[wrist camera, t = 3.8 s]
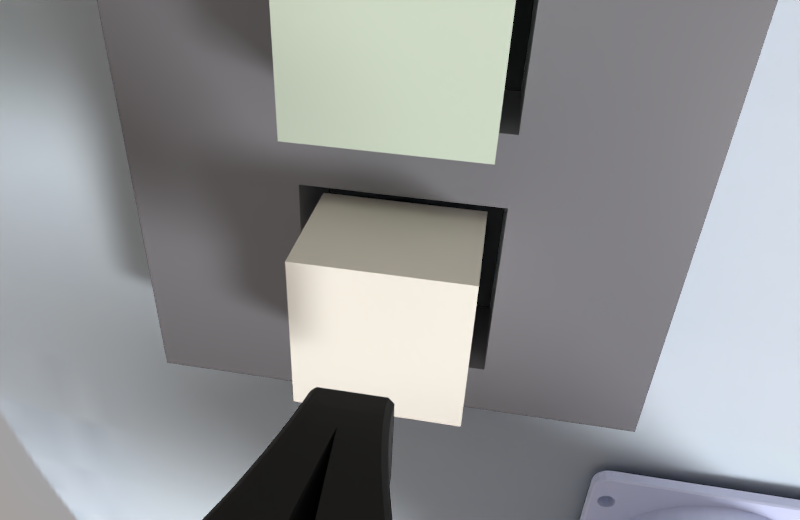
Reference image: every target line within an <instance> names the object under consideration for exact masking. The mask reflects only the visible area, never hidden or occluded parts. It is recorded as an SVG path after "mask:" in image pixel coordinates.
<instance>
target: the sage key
mask: <svg viewBox="0 0 800 520" xmlns="http://www.w3.org/2000/svg"><path fill="white" fill-rule="evenodd" d="M515 4H516V0H269V6H270V22H271V39H272V55H273V71H274V88H275V104H276V121H277V137H278V141H280V142H289V143H298V144H308V145H317V146H326V147H336V148H345V149H354V150H363V151H373V152H382V153H391V154H401V155H410V156H419V157H428V158H438V159H447V160H456V161H466V162H475V163H484V164H493V165H495V158H496V151H497V143H498V135H499V127H500V120H501V112H502V104H503V97H504V89H505V81H506V73H507V66H508V58H509V50H510V43H511V35H512V27H513V19H514V12H515Z"/></svg>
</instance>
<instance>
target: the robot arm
mask: <svg viewBox="0 0 800 520" xmlns="http://www.w3.org/2000/svg"><path fill="white" fill-rule="evenodd" d="M394 405H395V404H394V403H393V402H392V401H391V400H390V399H389V398H388V397H381V396H374V395H368V394H361V393H354V392H347V391H341V390H334V389H327V388H320V387H316V388H314V389H312V390H311V391H310V392H309V393H308V395H307V396H306V398H305V399H304V401H303V402H302V403H301V405H300V406H299V408H298V409H297V410H296V412H295V413H294V414H293V416H292V417H291V418H290V420H289V421H288V422H287V424H286V425H285V426H284V427H283V429H282V430H281V431H280V433H279V434H278V435H277V436H276V438H275V439H274V440H273V441H272V442H271V444H270V445H269V446H268V447H267V449H266V450H265V451H264V452H263V453H262V455H261V456H260V457H259V458H258V459H257V460H256V462H255V463H254V464H253V465H252V466H251V467H250V469H249V470H248V471H247V472H246V473H245V474H244V475H243V477H242V478H241V479H240V480H239V481H238V482H237V484H236V485H235V486H234V487H233V488H232V489H231V490H230V491H229V492H228V493H227V494H226V495H225V497H224V498H223V499H222V500H221V501H220V502H219V503H218V504H217V505H216V506H215V507H214V508H213V509H212V510H211V511H210V512H209V513H208V514H207V515H206V516H205V517H204V518H203V519H202V520H392V511H391V499H390V488H389V485H390V478H391V463H392V443H393V424H394ZM603 496H608V497H603ZM580 520H800V500H797V499H791V498H784V497H778V496H771V495H765V494H759V493H752V492H746V491H739V490H733V489H726V488H720V487H713V486H707V485H701V484H694V483H688V482H681V481H675V480H668V479H662V478H655V477H649V476H643V475H636V474H630V473H623V472H617V471H601V472H599V473H597V474H595V475H594V476H593V478H592V480H591V484H590V487H589V490H588V494H587V497H586V500H585V504H584V507H583V510H582V514H581V517H580Z"/></svg>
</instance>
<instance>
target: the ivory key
mask: <svg viewBox="0 0 800 520" xmlns="http://www.w3.org/2000/svg"><path fill="white" fill-rule="evenodd" d="M486 221H487V212H486V211H477V210H468V209H460V208H451V207H442V206H434V205H425V204H417V203H408V202H399V201H391V200H382V199H373V198H365V197H356V196H347V195H339V194H330V193H323V195H322V196H321V198H320V200H319V202H318V204H317V205H316V207H315V209H314V211H313V212H312V214H311V216H310V218H309V220H308V221H307V223H306V225H305V227H304V229H303V230H302V232H301V234H300V236H299V238H298V239H297V241H296V243H295V245H294V246H293V248H292V250H291V252H290V254H289V255H288V257H287V259H286V261H285V268H286V285H287V301H288V317H289V334H290V350H291V367H292V383H293V399H294V401H295V402H301V403H302V402H303V401H304V399H305V398H306V396H307V395H308V393H309V392H310V391H311V390H312V389H314V388H316V387H320V388H327V389H334V390H341V391H347V392H354V393H361V394H368V395H374V396H381V397H388V398H389V399H390V400H391V401H392V402H393V403H394V404H395V405H394V417H400V418H407V419H414V420H420V421H427V422H433V423H440V424H446V425H453V426H460V427H461V421H462V413H463V405H464V398H465V390H466V382H467V374H468V367H469V359H470V351H471V344H472V336H473V328H474V320H475V313H476V305H477V297H478V289H479V281H480V273H481V264H482V255H483V247H484V238H485V230H486Z"/></svg>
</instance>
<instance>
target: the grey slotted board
mask: <svg viewBox="0 0 800 520" xmlns="http://www.w3.org/2000/svg"><path fill="white" fill-rule="evenodd" d="M777 1H778V0H534V4H533V11H532V18H531V25H530V32H529V38H528V45H527V52H526V59H525V66H524V73H523V80H522V87H521V91H511V90H504V97H503V104H502V112H501V120H500V127H499V135H498V143H497V151H496V158H495V165H493V164H484V163H475V162H466V161H456V160H447V159H438V158H428V157H419V156H410V155H401V154H391V153H382V152H373V151H363V150H354V149H345V148H336V147H326V146H317V145H308V144H298V143H289V142H280V141H278V137H277V121H276V104H275V88H274V71H273V55H272V39H271V22H270V6H269V0H97V2H98V8H99V13H100V18H101V23H102V28H103V33H104V39H105V44H106V49H107V54H108V59H109V64H110V70H111V75H112V80H113V85H114V90H115V95H116V100H117V106H118V111H119V116H120V121H121V126H122V131H123V137H124V142H125V147H126V152H127V157H128V162H129V168H130V173H131V178H132V183H133V188H134V193H135V199H136V204H137V209H138V214H139V219H140V224H141V229H142V235H143V240H144V245H145V250H146V255H147V260H148V266H149V271H150V276H151V281H152V286H153V291H154V297H155V302H156V307H157V312H158V317H159V322H160V328H161V333H162V338H163V343H164V348H165V353H166V358H167V362H168V363H174V364H181V365H188V366H195V367H201V368H208V369H215V370H222V371H228V372H235V373H242V374H249V375H255V376H262V377H269V378H276V379H282V380H289V381H292V367H291V350H290V334H289V317H288V301H287V285H286V268H285V261H286V259H287V257H288V255H289V254H290V252H291V250H292V248H293V246H294V245H295V243H296V241H297V239H298V238H299V236H300V234H301V232H302V230H303V229H304V227H305V225H306V223H307V221H308V220H309V218H310V216H311V214H312V212H313V211H314V209H315V207H316V205H317V204H318V202H319V200H320V198H321V196H322V195H323V193H329V188H333V189H342V190H350V191H359V192H368V193H376V194H385V195H394V196H403V197H411V198H420V199H429V200H438V201H446V202H455V203H464V204H472V205H481V206H490V207H499V208H504V213H503V220H502V227H501V234H500V241H499V248H498V255H497V261H496V268H495V275H494V282H493V289H492V296H491V303H490V307H482V306H476V313H475V320H474V328H473V336H472V344H471V351H470V359H469V367H468V374H467V382H466V390H465V398H464V405H463V406H464V407H471V408H478V409H485V410H491V411H498V412H505V413H512V414H518V415H525V416H532V417H539V418H545V419H552V420H559V421H566V422H572V423H579V424H586V425H593V426H599V427H606V428H613V429H620V430H626V431H633V432H635V429H636V426H637V423H638V420H639V417H640V414H641V411H642V408H643V405H644V402H645V399H646V396H647V393H648V390H649V387H650V384H651V381H652V378H653V375H654V372H655V369H656V366H657V363H658V360H659V357H660V354H661V351H662V348H663V345H664V342H665V339H666V336H667V333H668V330H669V327H670V324H671V321H672V318H673V315H674V312H675V309H676V306H677V303H678V300H679V297H680V294H681V291H682V288H683V285H684V282H685V279H686V276H687V273H688V270H689V266H690V263H691V260H692V257H693V254H694V251H695V248H696V245H697V242H698V239H699V236H700V233H701V230H702V227H703V224H704V221H705V218H706V215H707V212H708V209H709V206H710V203H711V200H712V197H713V194H714V191H715V188H716V185H717V182H718V179H719V176H720V173H721V170H722V167H723V164H724V161H725V158H726V155H727V152H728V149H729V146H730V143H731V140H732V137H733V134H734V131H735V128H736V125H737V122H738V119H739V116H740V113H741V110H742V107H743V104H744V101H745V98H746V95H747V92H748V89H749V86H750V83H751V80H752V77H753V74H754V71H755V68H756V65H757V62H758V59H759V55H760V52H761V49H762V46H763V43H764V40H765V37H766V34H767V31H768V28H769V25H770V22H771V19H772V16H773V13H774V10H775V7H776V4H777Z"/></svg>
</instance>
